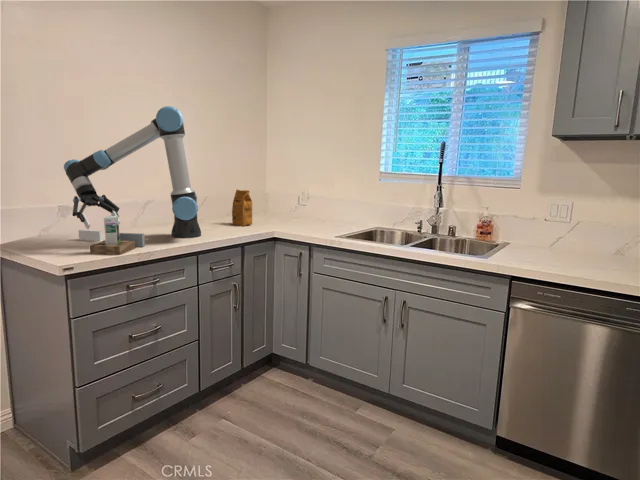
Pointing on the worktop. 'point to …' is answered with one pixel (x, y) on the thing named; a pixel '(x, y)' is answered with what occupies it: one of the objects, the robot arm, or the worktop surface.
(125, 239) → the backstop wall
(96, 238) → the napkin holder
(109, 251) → the tray
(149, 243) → the worktop surface
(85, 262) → the worktop surface
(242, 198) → the coffee package
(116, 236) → the syrup box
